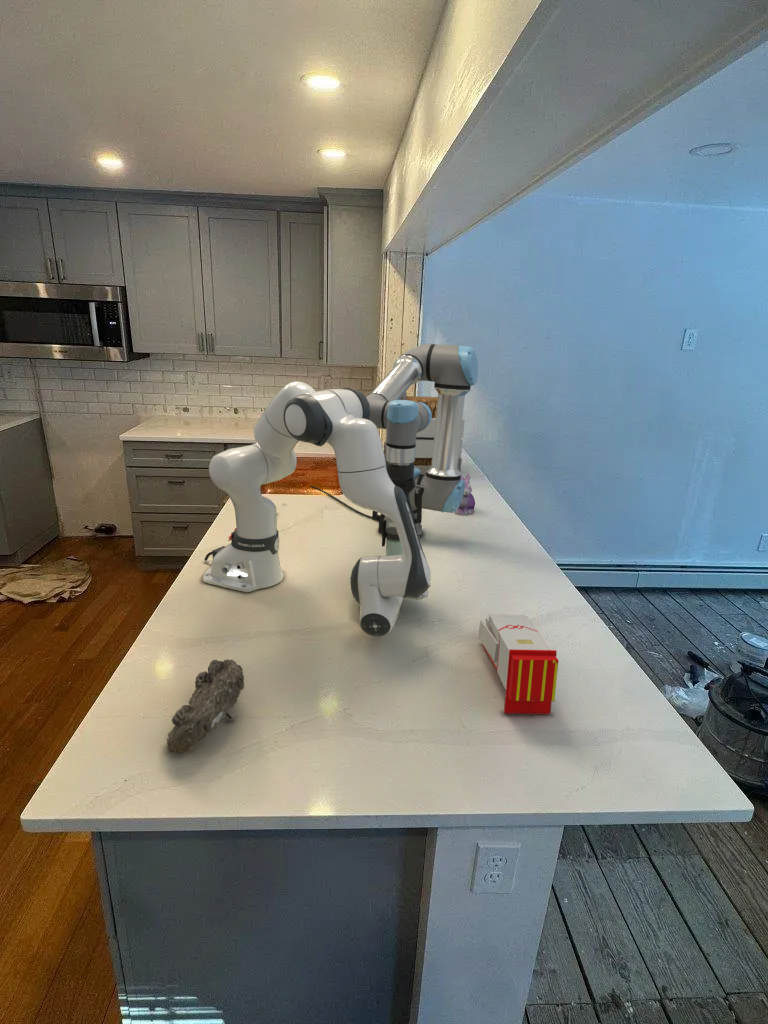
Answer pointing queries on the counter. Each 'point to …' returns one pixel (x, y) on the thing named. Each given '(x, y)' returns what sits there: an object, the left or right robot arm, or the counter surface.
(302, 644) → the counter surface
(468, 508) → the figurine
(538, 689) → the toy
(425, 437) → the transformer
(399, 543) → the pale green bottle
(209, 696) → the fossil
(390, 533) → the lid
